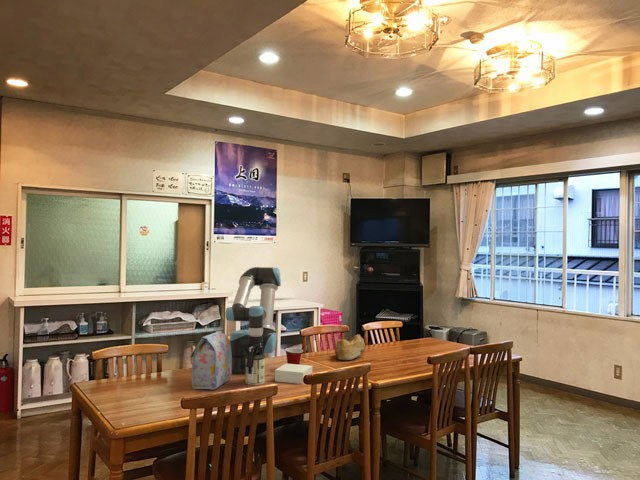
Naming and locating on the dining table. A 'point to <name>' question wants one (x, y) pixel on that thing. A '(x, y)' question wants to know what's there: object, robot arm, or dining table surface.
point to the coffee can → (257, 370)
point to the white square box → (292, 373)
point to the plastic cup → (293, 355)
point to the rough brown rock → (349, 348)
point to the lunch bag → (211, 361)
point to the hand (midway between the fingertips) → (254, 377)
